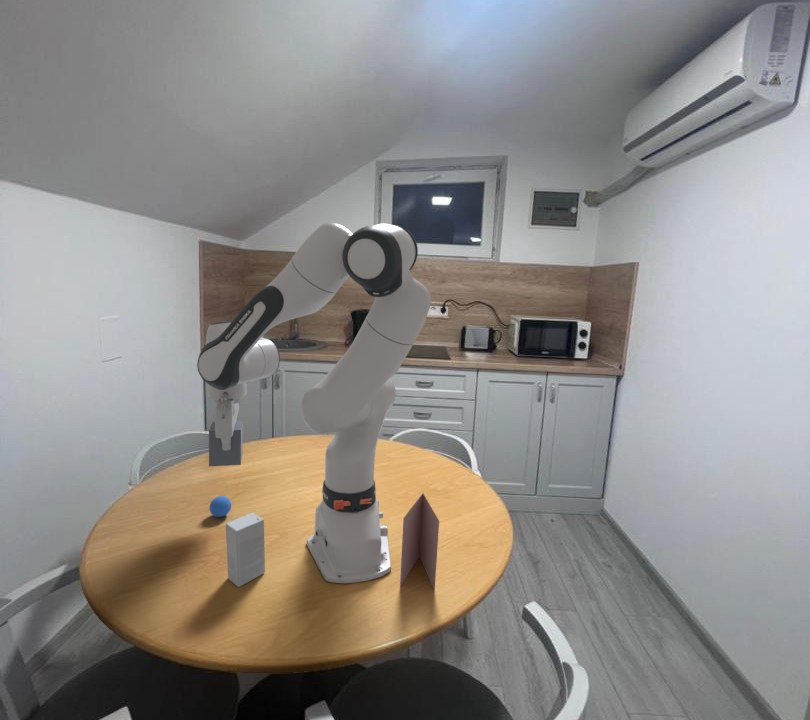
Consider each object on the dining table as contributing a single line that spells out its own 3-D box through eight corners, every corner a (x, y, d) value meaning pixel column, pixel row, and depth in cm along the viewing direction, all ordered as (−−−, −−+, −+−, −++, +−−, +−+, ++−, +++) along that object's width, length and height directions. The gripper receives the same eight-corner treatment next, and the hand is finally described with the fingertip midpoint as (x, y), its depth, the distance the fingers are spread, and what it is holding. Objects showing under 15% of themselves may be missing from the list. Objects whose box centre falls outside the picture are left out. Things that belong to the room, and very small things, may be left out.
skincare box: (253, 564, 91) (253, 511, 88) (265, 573, 88) (265, 519, 86) (226, 578, 86) (224, 523, 84) (237, 588, 83) (236, 531, 81)
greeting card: (415, 554, 96) (419, 492, 94) (447, 563, 94) (452, 499, 91) (395, 586, 86) (399, 517, 83) (431, 597, 83) (436, 526, 81)
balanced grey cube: (240, 464, 104) (241, 429, 103) (209, 466, 102) (208, 430, 100) (242, 453, 111) (242, 420, 109) (212, 455, 108) (212, 421, 107)
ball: (218, 498, 105) (203, 513, 104) (235, 509, 107) (220, 524, 106) (220, 488, 110) (206, 503, 109) (236, 499, 111) (222, 514, 111)
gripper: (238, 398, 94) (239, 458, 97) (243, 378, 114) (244, 428, 116) (206, 399, 93) (208, 460, 95) (217, 379, 112) (219, 430, 114)
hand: (228, 443), depth 106 cm, fingers closed on balanced grey cube, 7 cm apart
